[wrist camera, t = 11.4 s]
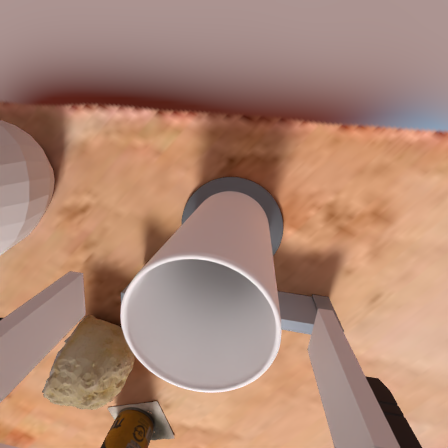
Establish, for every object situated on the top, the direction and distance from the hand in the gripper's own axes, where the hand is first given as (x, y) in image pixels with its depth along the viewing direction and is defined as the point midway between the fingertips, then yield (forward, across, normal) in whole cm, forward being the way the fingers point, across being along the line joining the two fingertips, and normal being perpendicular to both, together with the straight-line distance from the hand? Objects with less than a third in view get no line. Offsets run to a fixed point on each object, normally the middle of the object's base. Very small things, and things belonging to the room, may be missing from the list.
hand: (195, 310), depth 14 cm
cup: (+15, +1, 0) cm, 15 cm away
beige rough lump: (+16, -13, -18) cm, 27 cm away
